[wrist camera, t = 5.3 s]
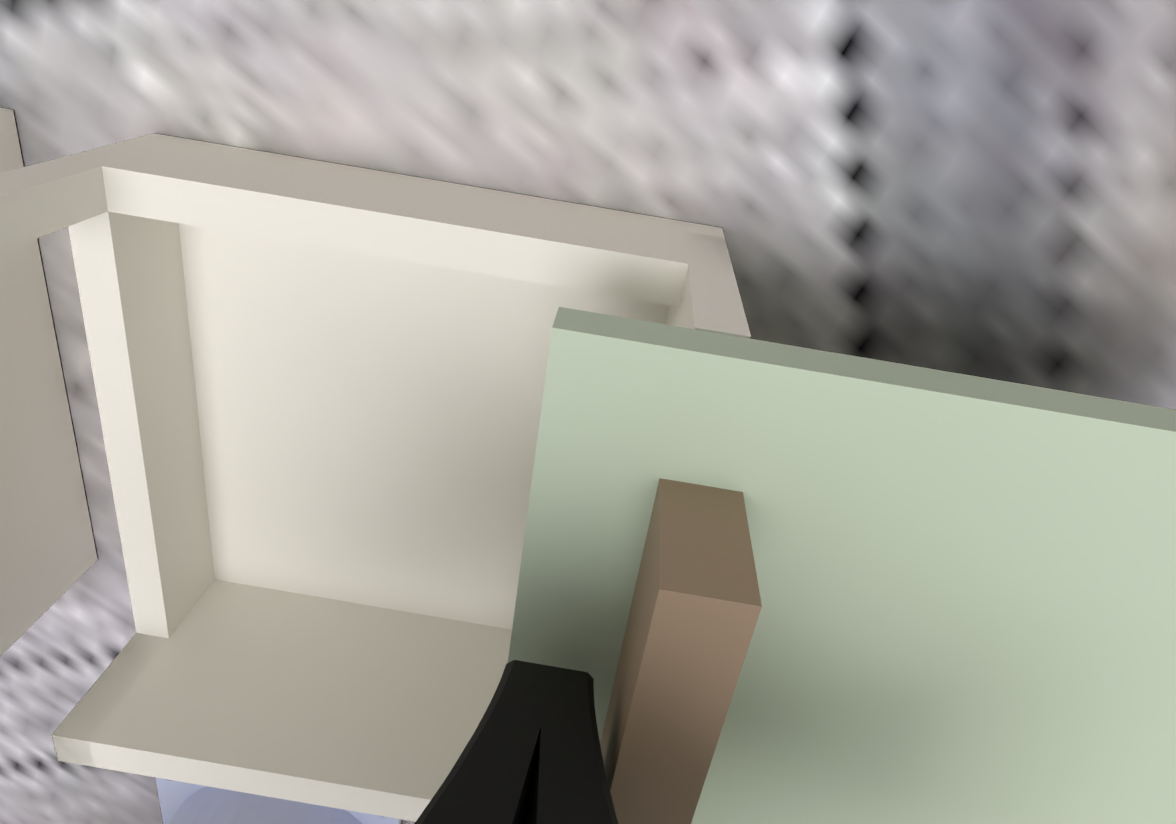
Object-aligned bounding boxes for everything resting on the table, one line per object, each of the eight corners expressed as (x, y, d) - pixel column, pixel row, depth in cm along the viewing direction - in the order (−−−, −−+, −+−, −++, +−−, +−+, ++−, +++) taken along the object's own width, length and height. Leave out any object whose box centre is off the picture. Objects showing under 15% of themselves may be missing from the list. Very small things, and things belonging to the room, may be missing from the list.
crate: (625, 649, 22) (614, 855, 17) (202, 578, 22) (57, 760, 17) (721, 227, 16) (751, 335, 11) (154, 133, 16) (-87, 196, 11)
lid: (1050, 934, 17) (1130, 1127, 14) (486, 838, 17) (451, 1010, 14) (1411, 448, 11) (1675, 605, 8) (559, 306, 11) (524, 412, 8)
